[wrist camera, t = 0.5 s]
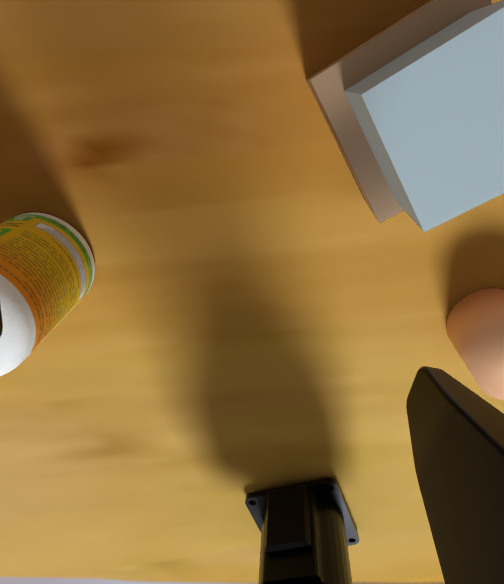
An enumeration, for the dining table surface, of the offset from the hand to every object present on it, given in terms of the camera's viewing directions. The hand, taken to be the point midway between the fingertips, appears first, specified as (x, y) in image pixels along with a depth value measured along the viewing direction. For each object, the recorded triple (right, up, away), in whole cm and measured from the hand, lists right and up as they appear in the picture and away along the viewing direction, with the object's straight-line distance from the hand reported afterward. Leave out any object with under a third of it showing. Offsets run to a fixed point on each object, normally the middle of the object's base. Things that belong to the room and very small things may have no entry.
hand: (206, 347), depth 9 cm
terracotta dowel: (+13, 0, +14) cm, 19 cm away
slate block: (+7, +8, +6) cm, 12 cm away
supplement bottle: (-10, +3, +14) cm, 18 cm away
